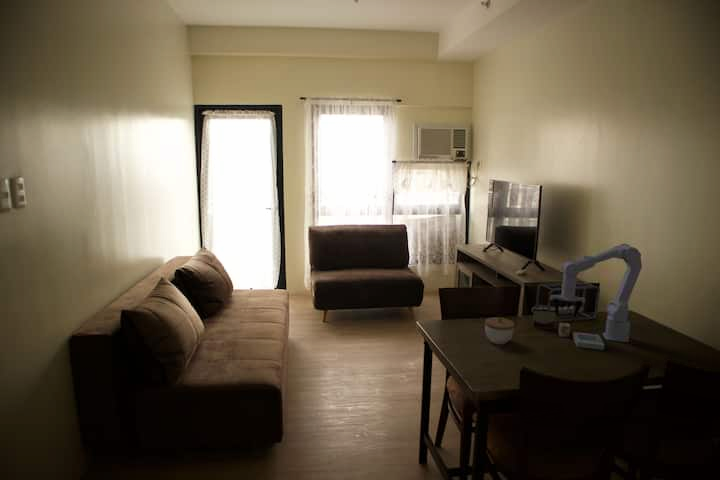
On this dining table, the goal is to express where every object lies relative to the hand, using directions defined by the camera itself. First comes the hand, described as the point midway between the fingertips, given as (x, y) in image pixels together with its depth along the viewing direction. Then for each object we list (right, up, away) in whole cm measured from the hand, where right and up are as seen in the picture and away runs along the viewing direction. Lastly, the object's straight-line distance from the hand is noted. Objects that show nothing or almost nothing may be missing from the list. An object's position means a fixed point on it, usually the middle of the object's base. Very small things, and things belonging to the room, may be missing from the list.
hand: (565, 315), depth 224 cm
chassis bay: (+6, -11, -8) cm, 15 cm away
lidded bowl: (-34, -11, -8) cm, 36 cm away
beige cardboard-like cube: (0, -9, +2) cm, 10 cm away
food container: (-6, -7, +13) cm, 16 cm away
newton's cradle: (+11, -5, +25) cm, 28 cm away
